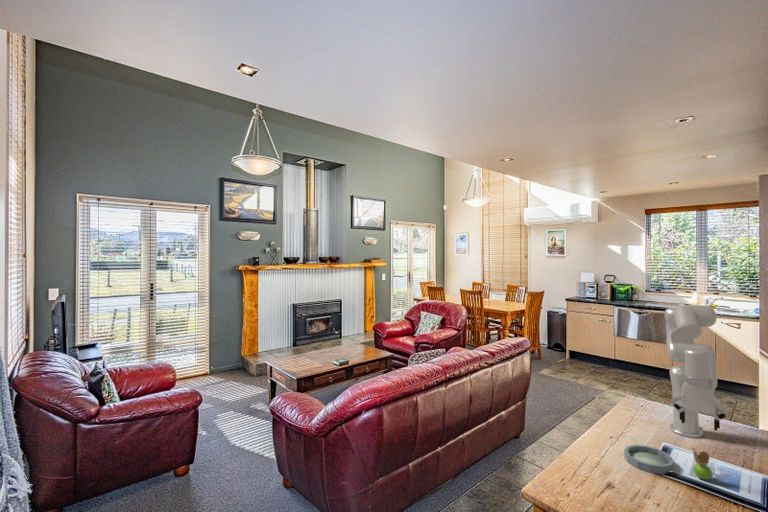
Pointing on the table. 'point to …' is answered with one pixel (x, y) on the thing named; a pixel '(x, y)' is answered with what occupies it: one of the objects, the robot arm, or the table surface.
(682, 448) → the table surface
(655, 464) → the ring dish
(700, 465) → the snail figurine
